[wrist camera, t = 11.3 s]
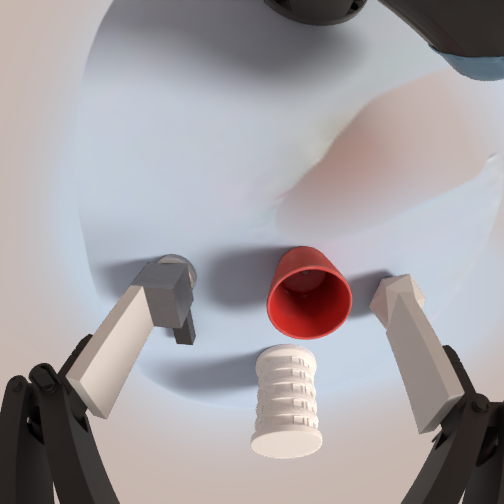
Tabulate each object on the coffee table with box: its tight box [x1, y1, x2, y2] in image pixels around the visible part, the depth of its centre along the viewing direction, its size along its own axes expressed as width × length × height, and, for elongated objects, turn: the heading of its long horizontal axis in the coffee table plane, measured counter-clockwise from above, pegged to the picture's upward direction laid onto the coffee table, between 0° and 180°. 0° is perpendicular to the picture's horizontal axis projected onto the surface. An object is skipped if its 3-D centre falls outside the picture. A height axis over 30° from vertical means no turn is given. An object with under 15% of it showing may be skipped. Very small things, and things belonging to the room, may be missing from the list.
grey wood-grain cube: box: [129, 263, 193, 328], centre depth 39 cm, size 6×6×7 cm
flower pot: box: [267, 246, 352, 340], centre depth 38 cm, size 11×11×10 cm
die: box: [369, 274, 426, 329], centre depth 39 cm, size 8×9×10 cm
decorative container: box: [251, 344, 322, 459], centre depth 43 cm, size 12×12×18 cm
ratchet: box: [157, 254, 196, 345], centre depth 43 cm, size 16×7×6 cm, turn 2°
